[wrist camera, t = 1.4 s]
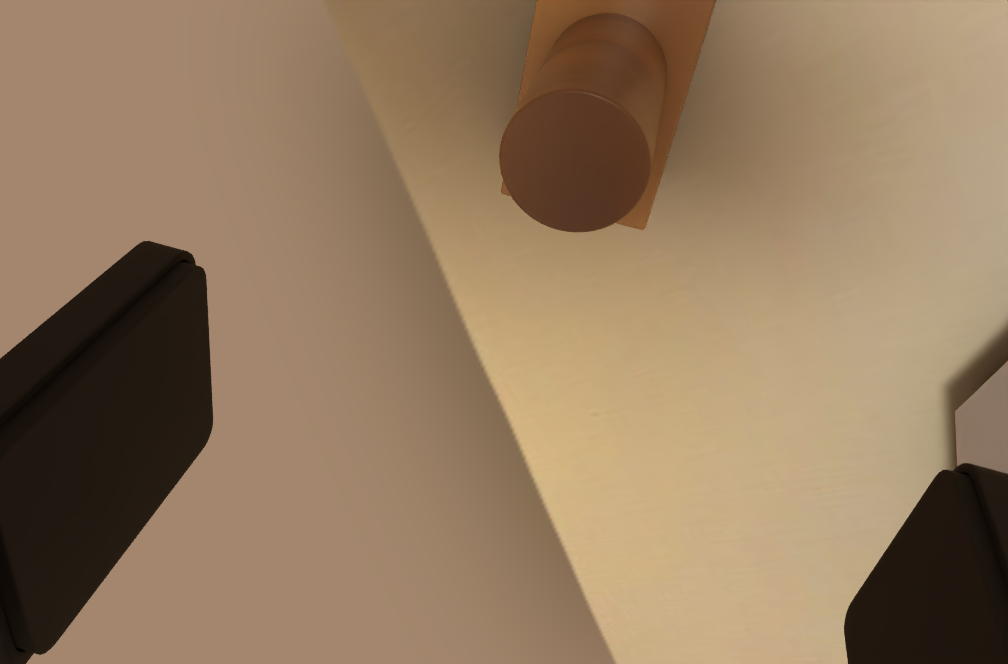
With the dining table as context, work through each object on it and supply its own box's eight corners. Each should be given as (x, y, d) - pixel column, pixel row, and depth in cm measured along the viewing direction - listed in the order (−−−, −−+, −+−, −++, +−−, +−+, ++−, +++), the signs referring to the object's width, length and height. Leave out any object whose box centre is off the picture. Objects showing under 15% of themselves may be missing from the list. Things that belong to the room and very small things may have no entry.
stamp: (519, 155, 28) (446, 301, 20) (576, -132, 23) (506, -75, 15) (651, 188, 27) (625, 348, 20) (738, -95, 22) (745, -19, 15)
